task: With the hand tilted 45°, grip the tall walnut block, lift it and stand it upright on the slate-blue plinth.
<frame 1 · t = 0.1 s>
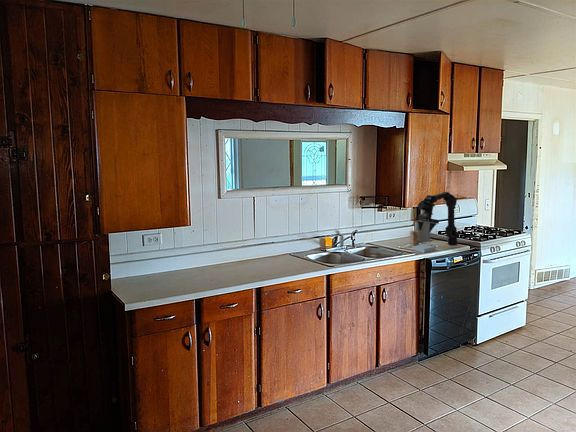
hand: (424, 231, 363), 15 cm above the countertop, tool pointing down, fingers open, 9 cm apart
walnut block: (414, 247, 379), on the countertop
plinth: (423, 250, 367), on the countertop
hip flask: (422, 241, 401), on the countertop
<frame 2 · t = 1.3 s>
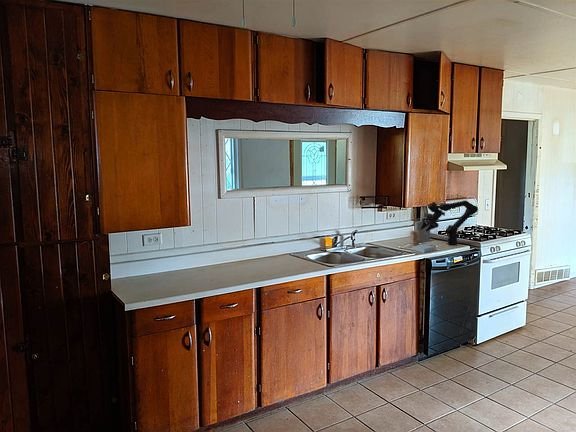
hand: (423, 230, 378), 13 cm above the countertop, tool tilted 45°, fingers open, 9 cm apart
nothing on the countertop moved.
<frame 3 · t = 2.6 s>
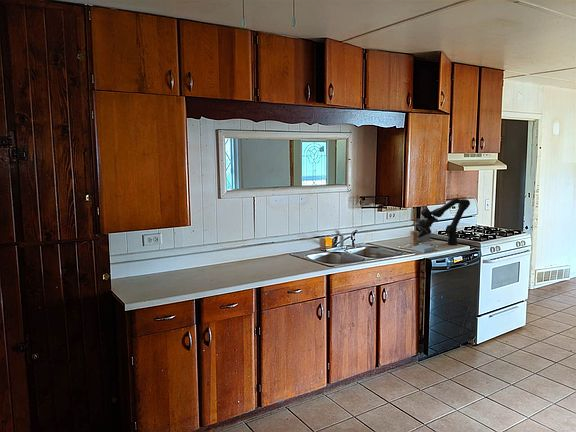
hand: (416, 236, 378), 9 cm above the countertop, tool tilted 45°, fingers open, 9 cm apart
nothing on the countertop moved.
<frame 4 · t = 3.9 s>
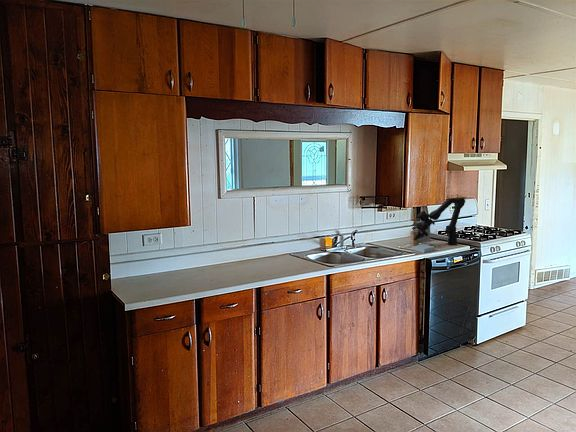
hand: (413, 239, 378), 7 cm above the countertop, tool tilted 45°, fingers closed on walnut block, 5 cm apart
walnut block: (414, 247, 379), on the countertop, touching gripper
everything else where it was.
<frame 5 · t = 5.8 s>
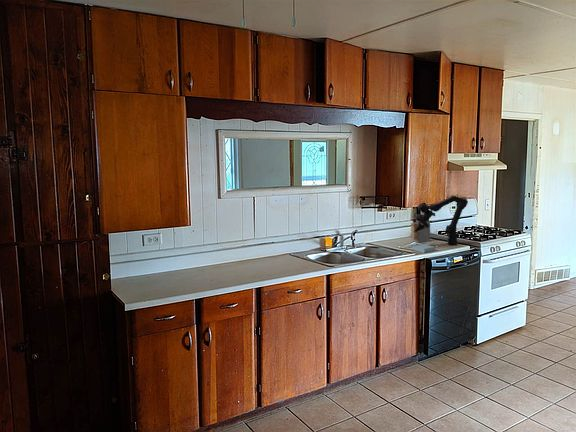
hand: (413, 231, 376), 13 cm above the countertop, tool tilted 45°, fingers closed on walnut block, 5 cm apart
walnut block: (415, 239, 377), point 7 cm above the countertop, touching gripper
everything else where it was.
when the fingers open (11 cm above the countertop, at t = 7.8 s): walnut block drops 1 cm, resting on plinth.
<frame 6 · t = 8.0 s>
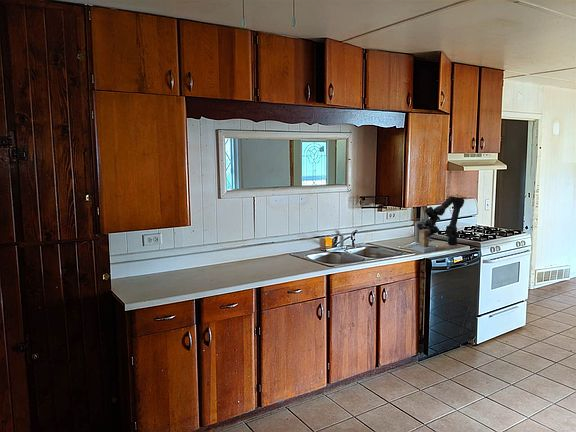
hand: (422, 236, 364), 11 cm above the countertop, tool tilted 45°, fingers open, 7 cm apart
walnut block: (423, 246, 366), point 3 cm above the countertop, touching plinth
everything else where it was.
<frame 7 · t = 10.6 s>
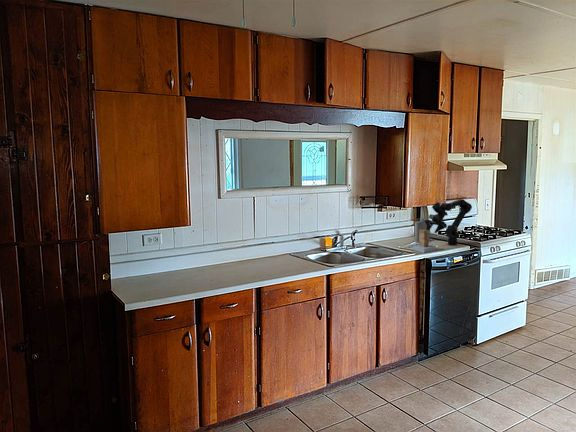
hand: (430, 232, 369), 13 cm above the countertop, tool tilted 45°, fingers open, 9 cm apart
nothing on the countertop moved.
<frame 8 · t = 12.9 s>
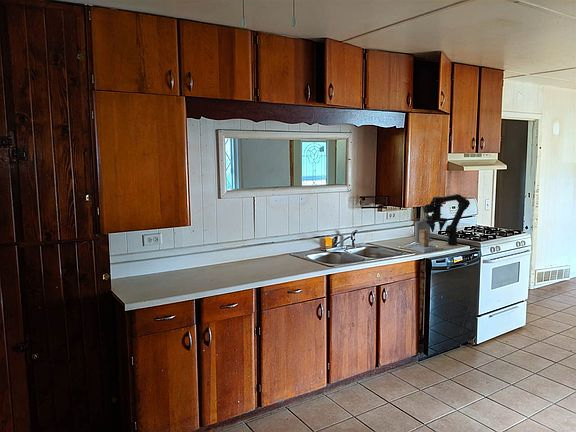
hand: (436, 231, 379), 12 cm above the countertop, tool pointing down, fingers open, 9 cm apart
nothing on the countertop moved.
at the end: walnut block inside the target area on the plinth (0.0 cm from its centre), point 3.0 cm above the plinth's base; walnut block tilted 0°; the gripper is holding nothing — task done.
